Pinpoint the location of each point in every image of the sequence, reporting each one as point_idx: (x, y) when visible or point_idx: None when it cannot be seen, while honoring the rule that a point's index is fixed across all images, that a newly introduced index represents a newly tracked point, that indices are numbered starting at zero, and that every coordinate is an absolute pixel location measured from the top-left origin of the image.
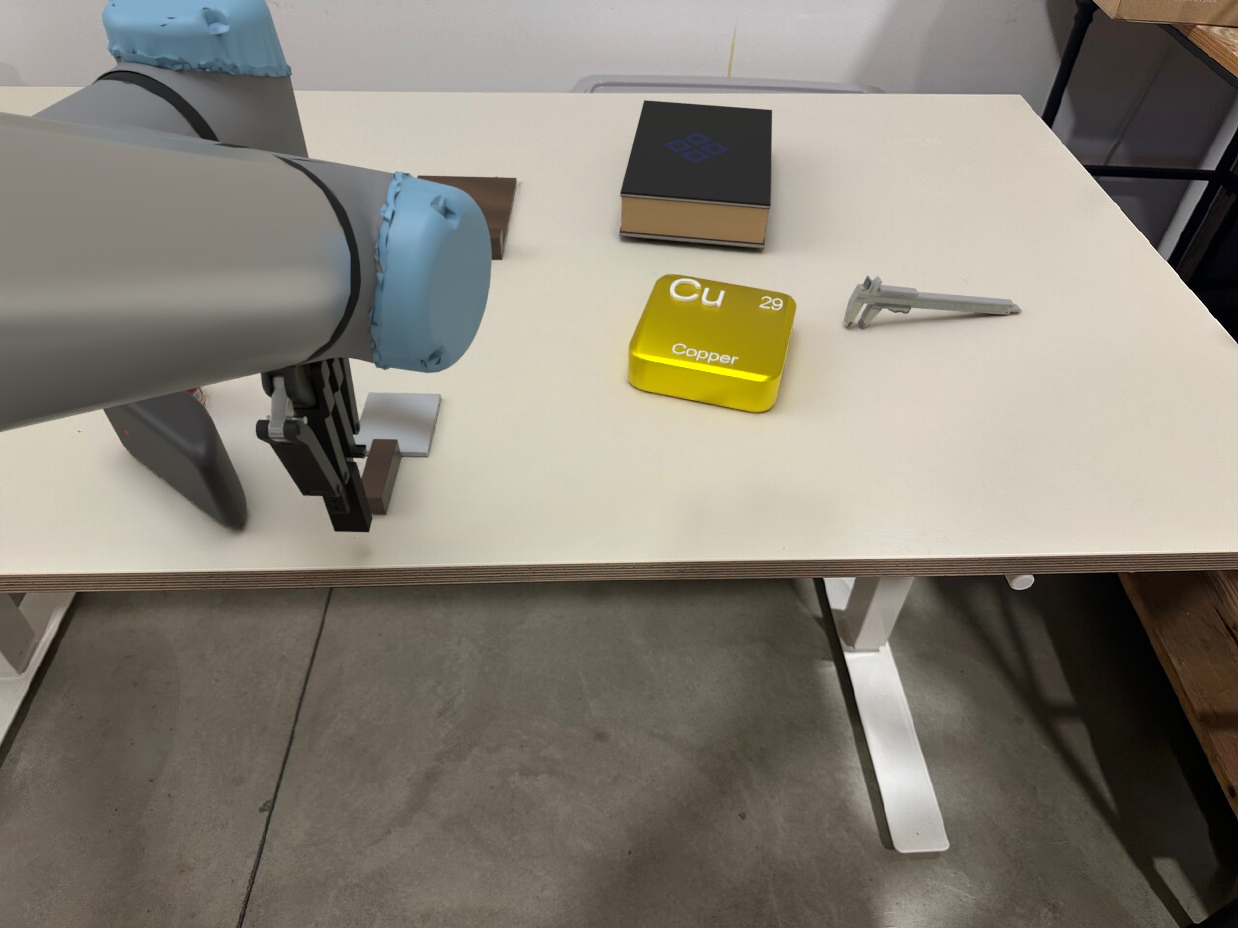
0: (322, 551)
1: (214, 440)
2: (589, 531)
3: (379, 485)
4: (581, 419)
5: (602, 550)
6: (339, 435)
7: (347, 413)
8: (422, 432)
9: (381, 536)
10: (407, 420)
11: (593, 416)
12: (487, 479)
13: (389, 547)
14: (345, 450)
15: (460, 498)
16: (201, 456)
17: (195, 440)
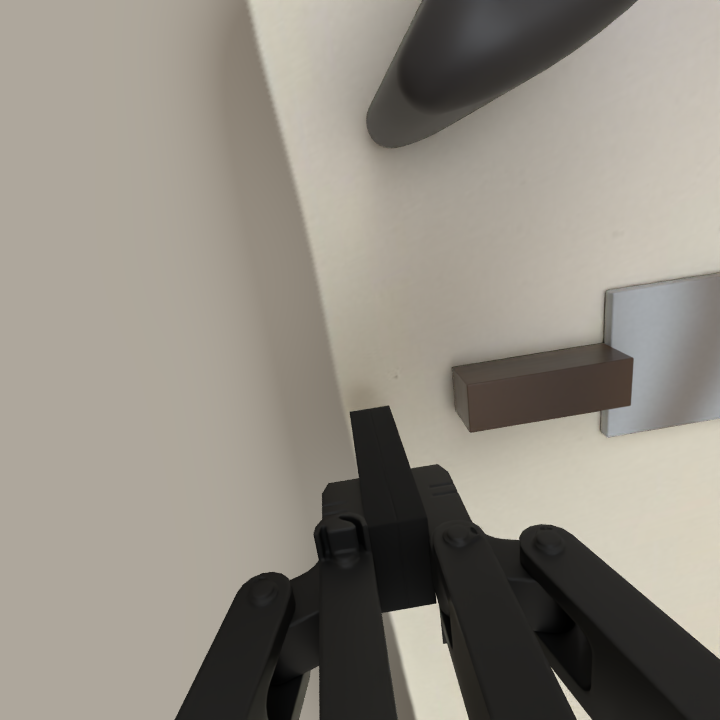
0: (354, 332)
1: (522, 74)
2: (453, 682)
3: (501, 417)
4: (682, 624)
5: (421, 702)
6: (464, 692)
7: (575, 683)
8: (660, 413)
9: (405, 420)
10: (696, 374)
11: None
12: None
13: None
14: (445, 629)
15: (503, 511)
16: (432, 65)
17: (501, 3)
